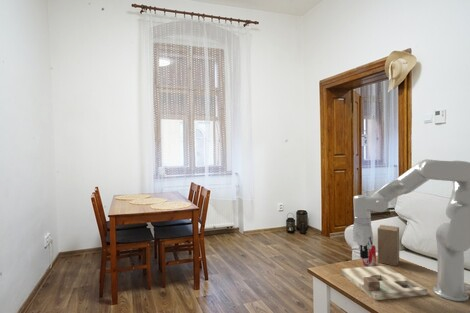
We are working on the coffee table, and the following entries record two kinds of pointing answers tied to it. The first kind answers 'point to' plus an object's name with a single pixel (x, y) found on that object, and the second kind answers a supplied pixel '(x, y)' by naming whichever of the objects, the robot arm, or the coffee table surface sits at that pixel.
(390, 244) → the wooden block
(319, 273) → the coffee table surface
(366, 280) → the walnut block
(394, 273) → the board
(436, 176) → the robot arm
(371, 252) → the soda can
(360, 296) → the coffee table surface
